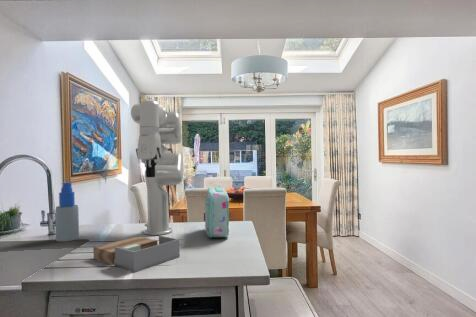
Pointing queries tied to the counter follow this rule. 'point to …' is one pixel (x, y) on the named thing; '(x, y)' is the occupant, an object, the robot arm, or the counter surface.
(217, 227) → the lunch box
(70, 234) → the spray bottle
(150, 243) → the tan wooden board
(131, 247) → the sage tile
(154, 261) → the box
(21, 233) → the counter surface
